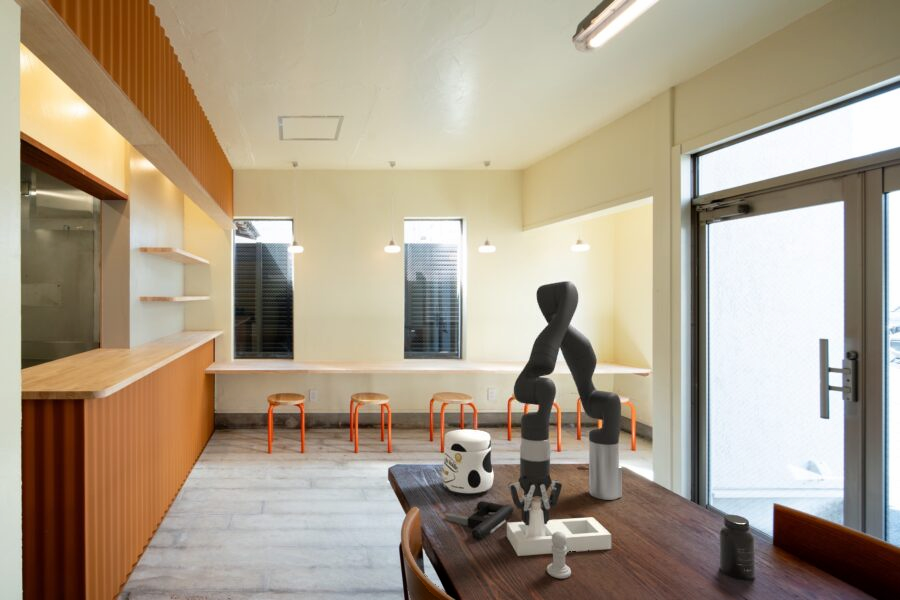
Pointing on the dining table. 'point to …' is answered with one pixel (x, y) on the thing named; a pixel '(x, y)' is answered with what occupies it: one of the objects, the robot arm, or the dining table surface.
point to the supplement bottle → (737, 548)
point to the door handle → (483, 518)
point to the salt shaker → (535, 520)
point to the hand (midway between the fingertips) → (535, 523)
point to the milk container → (467, 462)
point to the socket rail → (577, 532)
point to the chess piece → (559, 557)
